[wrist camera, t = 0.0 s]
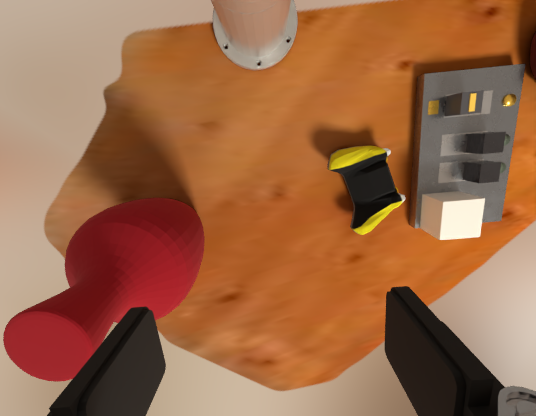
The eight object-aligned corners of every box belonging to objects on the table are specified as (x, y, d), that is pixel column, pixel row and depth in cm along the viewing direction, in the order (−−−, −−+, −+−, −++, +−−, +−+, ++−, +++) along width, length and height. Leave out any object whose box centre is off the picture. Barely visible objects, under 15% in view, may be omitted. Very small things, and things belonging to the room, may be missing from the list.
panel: (417, 76, 41) (439, 67, 36) (513, 67, 41) (549, 56, 35) (409, 224, 48) (426, 235, 42) (491, 217, 47) (519, 227, 42)
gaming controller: (348, 230, 48) (399, 208, 47) (358, 241, 43) (416, 218, 42) (318, 156, 45) (374, 131, 44) (325, 158, 39) (388, 130, 38)
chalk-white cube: (422, 194, 44) (443, 202, 39) (459, 191, 44) (485, 198, 39) (419, 228, 46) (439, 240, 40) (455, 225, 46) (479, 236, 40)
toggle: (446, 96, 40) (463, 92, 36) (466, 94, 40) (484, 90, 36) (444, 116, 41) (460, 114, 37) (464, 114, 41) (481, 112, 37)
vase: (214, 263, 50) (139, 436, 21) (138, 248, 49) (-48, 407, 20) (227, 190, 46) (156, 280, 17) (144, 173, 45) (-74, 237, 17)
